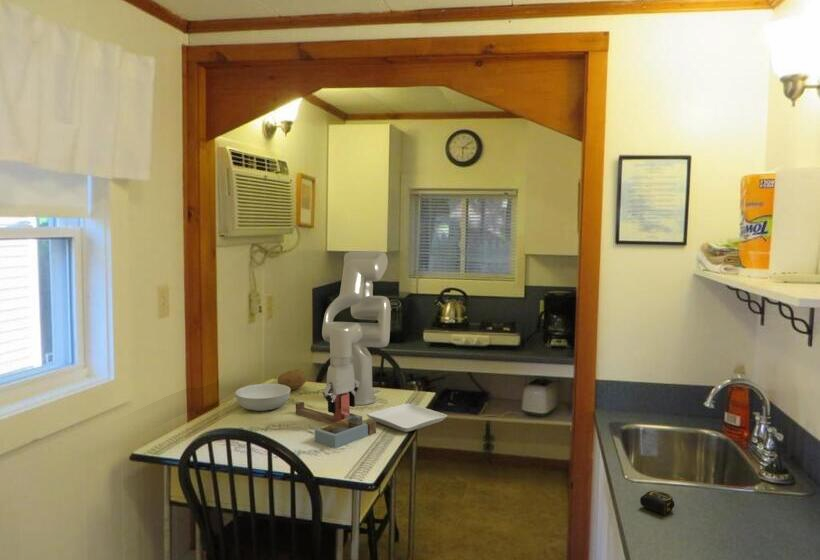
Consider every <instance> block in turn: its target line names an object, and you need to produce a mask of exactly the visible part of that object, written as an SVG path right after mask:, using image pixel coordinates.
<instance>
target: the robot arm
mask: <svg viewBox="0 0 820 560" xmlns="http://www.w3.org/2000/svg"><path fill="white" fill-rule="evenodd" d="M343 262H344V265H343V270H342V276H341V282H340V284H341V285H340V288H339V289H340V290H339V295H338V296H337V297H336V298H335V299H334V300H333V301H332V302H330V304H329V305H328V306H327V308H326V309H325V310H326V311H325V313H324V317H323V322H322V328H321V336H322V338H323V340H324V342H327V343H329V352H330V353H329V363H330V364H329V365H328V368H327V373H326V383H325V385H326V386H325V387H324V388H323V389H322V391H321V394H322V395H323V397H324V399H325V400H326V401H327V412H328V413H331V414H333V413H335V412H336V403H335V402H334V400H335V398H336V396H337V395H340V394H344V393H349V407H350V408H351V407H352V408H355V406H365V405H371V404H374V403H376V401H377V396H375V395H376V394H377V393H378V394H379V393H380V392H381V388H380V387H376V388H374V387H373V357H372V354H371V352H370V351H369V350H368V348H385V347H387V346H388V345H389V343H390V338H391V337H390V336H391V335H390V334H391V311H392V309H391V308H392V307H391V301H390V300H389V298H388V297H387V296H383V295H373V291H374V284H373V282H378V281H380V280H381V279H382V277H383V276H384V274H385V273H386V270H387V268H388V265H389V263H388V262H389V260H388V256H387V254H386V253H385V252H384V251H381V250H373V251H372V250H353V251H349V252H346V253H345V254H344V257H343ZM349 308H350V314H351V317H352V318H354V319H356V320H365V321H366V320H373V321H377V322H355V321H354V322H353V321H352V322H351V321H349V322H348V321H334V319H335V318H336V316H337V314H339V313H340V312H341V311H344V310H345V309H349Z"/></svg>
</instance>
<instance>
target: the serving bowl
mask: <svg viewBox="0 0 820 560" xmlns="http://www.w3.org/2000/svg"><path fill="white" fill-rule="evenodd" d="M291 391H292V390H291V389H290V388H289V387H288V386H285V385H281V384H278V383H258V384H250V385H246V386H245V385H244V386H243V387H239V388H238V389H237V390H236V391H235V393H234V394H235V398H236V401H237V403H238V404H239V405H240V406H241V407H243V408H245V409H246V410H249V411H250V410H251V411H258V412H263V411H264V412H266V411H270V410H271V411H272V410H275V409H278V408H280V407H282V406H283V405H285V404H286V403H287V402H288V400H289V399H290V396H291Z"/></svg>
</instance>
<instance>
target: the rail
mask: <svg viewBox="0 0 820 560" xmlns="http://www.w3.org/2000/svg"><path fill="white" fill-rule="evenodd" d="M295 415H299V416H301V417H306V418H309V419H312V420H316V421H319V422H323V423H326V424H328V425H329V424H332V423H335V422H338V420H335V419H333V414H330V413H329V414H328V413H326V412H323V411H318V410H316V409H315V410H314V409H310V408H308V407H305V402H304V401H299V402H296V403H295ZM362 424H363V422H362V423H361V424H358V425H356V424H353V423H349V429H351V428H354V427H356V426H359V425H362ZM366 424H368V436H372V435H375V434H376V433H377V422H376V421H374V420H370V421H368V422H366Z"/></svg>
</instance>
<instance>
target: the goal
mask: <svg viewBox="0 0 820 560" xmlns="http://www.w3.org/2000/svg"><path fill="white" fill-rule="evenodd" d="M368 436H369V435H368V424H367V423H362V425H359V426H356V427H354V428H351V429H348V430H345V431H342V432H339V433H337V434H334V433H330V432H327V431H324V430H320V428H317V429H314V442H315V443H317V444H321V445H324V446H327V447H329V448H333V449H338V448H340V447H343V446H345V445H349V444H351V443H354V442H356V441H358V440H362V439H364V438H366V437H368Z"/></svg>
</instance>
